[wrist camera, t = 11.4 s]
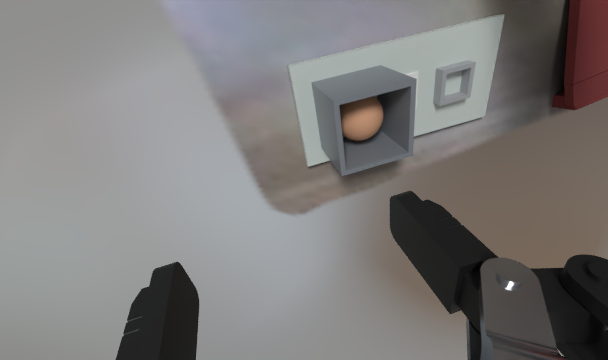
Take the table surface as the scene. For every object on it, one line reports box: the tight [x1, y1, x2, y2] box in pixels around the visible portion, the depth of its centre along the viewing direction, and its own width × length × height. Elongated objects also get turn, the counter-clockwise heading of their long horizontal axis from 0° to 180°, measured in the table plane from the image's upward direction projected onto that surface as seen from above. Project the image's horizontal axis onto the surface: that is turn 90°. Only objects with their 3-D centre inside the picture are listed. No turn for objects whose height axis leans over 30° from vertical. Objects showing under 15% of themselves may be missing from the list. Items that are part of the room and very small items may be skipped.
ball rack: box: [287, 14, 505, 176], centre depth 36 cm, size 29×14×9 cm, turn 100°
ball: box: [339, 96, 383, 141], centre depth 36 cm, size 6×6×6 cm
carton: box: [552, 0, 608, 110], centre depth 41 cm, size 12×5×25 cm
